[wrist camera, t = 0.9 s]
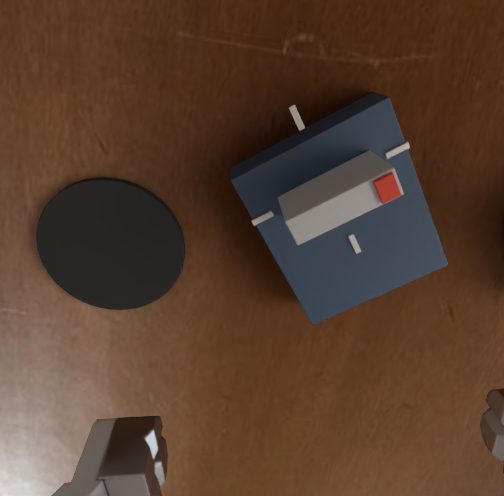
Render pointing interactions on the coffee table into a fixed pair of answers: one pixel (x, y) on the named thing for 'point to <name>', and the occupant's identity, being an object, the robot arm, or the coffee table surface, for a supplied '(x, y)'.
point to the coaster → (110, 243)
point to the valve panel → (354, 231)
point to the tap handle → (339, 196)
